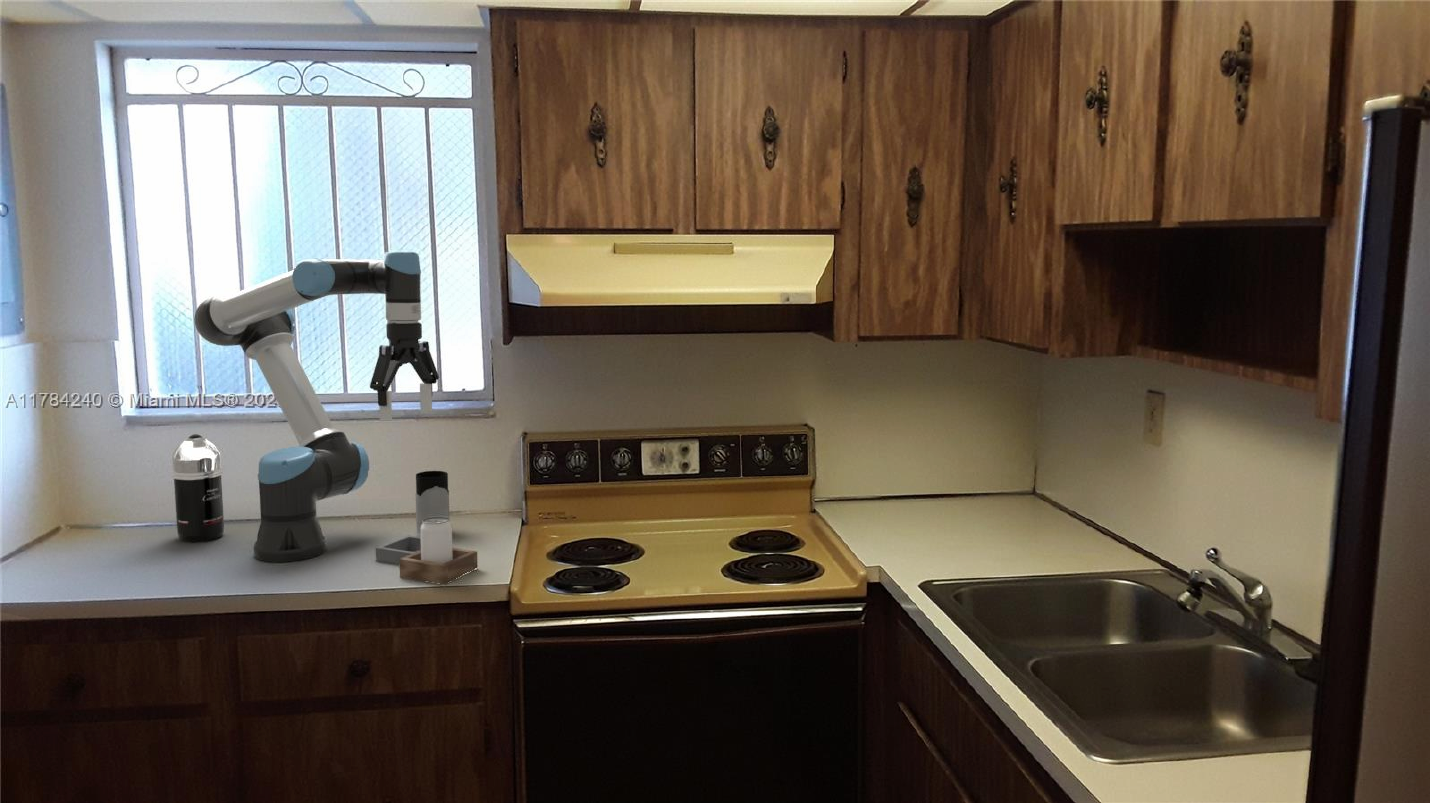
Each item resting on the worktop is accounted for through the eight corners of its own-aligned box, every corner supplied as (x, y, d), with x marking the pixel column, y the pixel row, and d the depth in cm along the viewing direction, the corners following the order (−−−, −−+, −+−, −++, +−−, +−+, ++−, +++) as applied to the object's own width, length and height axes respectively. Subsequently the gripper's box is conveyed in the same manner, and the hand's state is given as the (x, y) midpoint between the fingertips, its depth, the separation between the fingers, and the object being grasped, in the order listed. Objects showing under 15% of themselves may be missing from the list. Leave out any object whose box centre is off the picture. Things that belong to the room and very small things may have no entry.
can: (443, 580, 208) (441, 524, 206) (415, 577, 210) (414, 522, 208) (458, 570, 214) (457, 517, 213) (431, 567, 216) (430, 514, 214)
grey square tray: (376, 560, 220) (375, 547, 220) (409, 547, 230) (408, 535, 230) (416, 567, 216) (415, 554, 216) (447, 553, 226) (447, 541, 226)
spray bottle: (166, 540, 233) (160, 436, 229) (203, 529, 242) (197, 429, 239) (198, 545, 229) (192, 439, 225) (235, 534, 239) (229, 432, 235)
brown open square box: (399, 577, 209) (399, 558, 209) (434, 562, 220) (434, 544, 219) (444, 584, 205) (443, 566, 205) (477, 569, 216) (477, 551, 215)
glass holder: (419, 540, 236) (417, 479, 234) (406, 526, 248) (404, 467, 246) (455, 536, 240) (454, 475, 238) (441, 522, 253) (439, 464, 250)
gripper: (378, 325, 207) (381, 425, 210) (452, 319, 229) (454, 409, 232) (350, 324, 209) (353, 422, 212) (426, 318, 232) (428, 407, 235)
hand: (406, 416), depth 222 cm, fingers open, 13 cm apart
